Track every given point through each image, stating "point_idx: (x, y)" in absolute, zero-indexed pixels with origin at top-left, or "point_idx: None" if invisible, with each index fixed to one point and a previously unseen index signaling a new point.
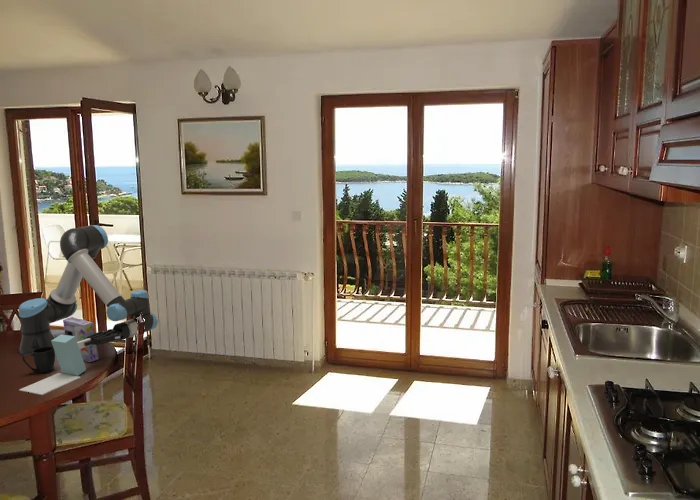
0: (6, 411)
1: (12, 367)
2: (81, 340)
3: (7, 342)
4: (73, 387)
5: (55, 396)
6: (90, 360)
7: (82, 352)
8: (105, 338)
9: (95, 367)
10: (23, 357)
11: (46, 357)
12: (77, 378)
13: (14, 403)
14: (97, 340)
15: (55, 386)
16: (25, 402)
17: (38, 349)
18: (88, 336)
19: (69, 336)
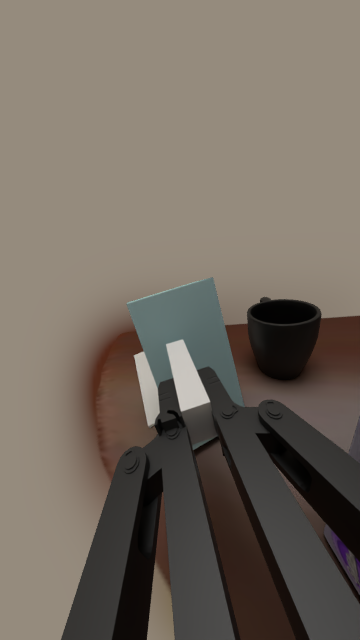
0: (129, 332)
1: (342, 323)
2: None
3: None
4: (109, 399)
5: (107, 370)
6: (327, 536)
7: None
8: (70, 637)
9: (220, 532)
10: (260, 301)
11: (249, 331)
12: (146, 416)
13: None
14: (122, 466)
15: (145, 371)
16: (133, 343)
17: (304, 306)
18: (271, 409)
19: (156, 294)
